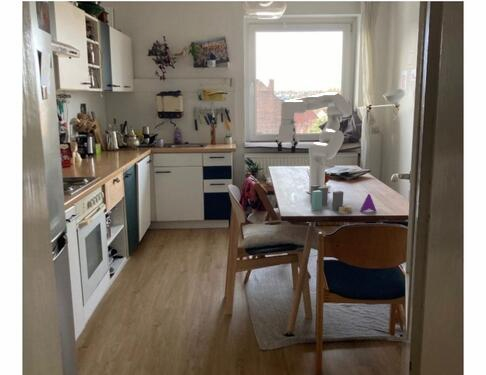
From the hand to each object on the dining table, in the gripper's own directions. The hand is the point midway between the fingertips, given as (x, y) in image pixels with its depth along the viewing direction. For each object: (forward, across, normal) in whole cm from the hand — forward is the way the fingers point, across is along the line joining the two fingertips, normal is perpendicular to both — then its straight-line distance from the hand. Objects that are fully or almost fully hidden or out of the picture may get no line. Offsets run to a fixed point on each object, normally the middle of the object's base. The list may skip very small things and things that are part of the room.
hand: (286, 152), depth 257 cm
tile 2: (+28, -24, -2) cm, 37 cm away
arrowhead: (+28, -51, -5) cm, 58 cm away
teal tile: (+28, -28, +8) cm, 40 cm away
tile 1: (+28, -18, -4) cm, 34 cm away
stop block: (+28, -43, +4) cm, 51 cm away
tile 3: (+28, -37, +2) cm, 46 cm away
